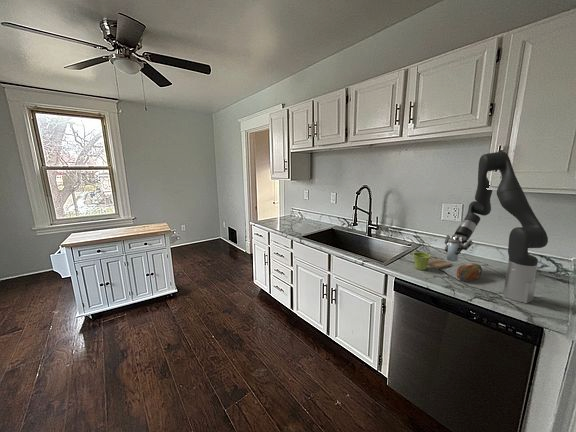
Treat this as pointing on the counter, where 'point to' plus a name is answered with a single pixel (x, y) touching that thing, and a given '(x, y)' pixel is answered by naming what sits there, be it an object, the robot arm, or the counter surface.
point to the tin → (469, 272)
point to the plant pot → (421, 260)
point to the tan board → (439, 263)
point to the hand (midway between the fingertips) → (451, 252)
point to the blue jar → (452, 249)
